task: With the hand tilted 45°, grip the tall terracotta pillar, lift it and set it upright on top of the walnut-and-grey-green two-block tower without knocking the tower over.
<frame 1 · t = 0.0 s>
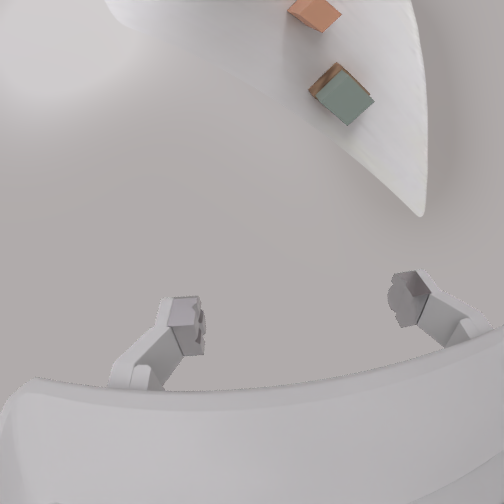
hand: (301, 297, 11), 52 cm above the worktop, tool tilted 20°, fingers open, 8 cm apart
pillar: (305, 10, 37), on the worktop
tower top: (341, 94, 49), point 4 cm above the worktop, touching tower base
tower base: (336, 88, 51), on the worktop, touching tower top
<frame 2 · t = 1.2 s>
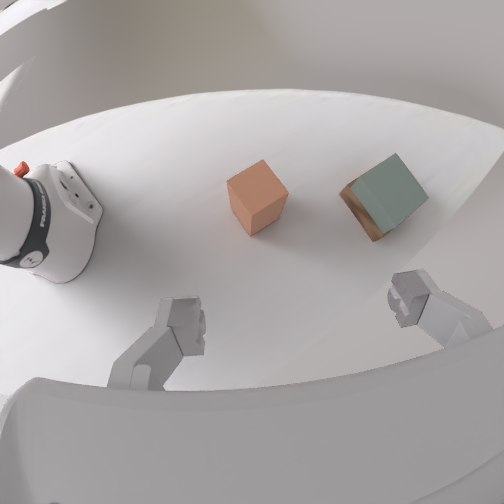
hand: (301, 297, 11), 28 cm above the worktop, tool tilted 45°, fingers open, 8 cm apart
pillar: (255, 213, 41), on the worktop
tower top: (384, 197, 38), point 4 cm above the worktop, touching tower base
tower base: (375, 204, 42), on the worktop, touching tower top
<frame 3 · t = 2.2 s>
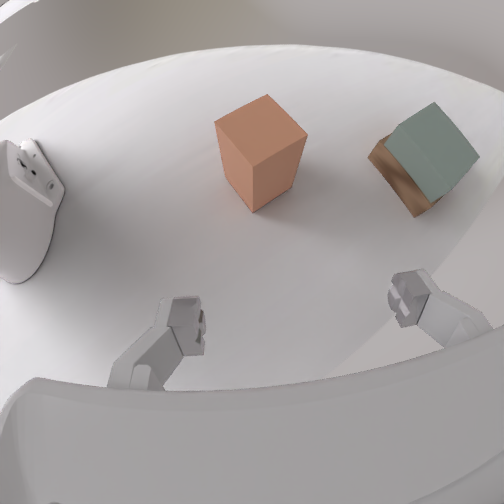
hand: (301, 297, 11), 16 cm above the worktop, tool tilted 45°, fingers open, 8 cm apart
pillar: (258, 181, 30), on the worktop
tower top: (426, 157, 26), point 4 cm above the worktop, touching tower base
tower base: (412, 170, 30), on the worktop, touching tower top
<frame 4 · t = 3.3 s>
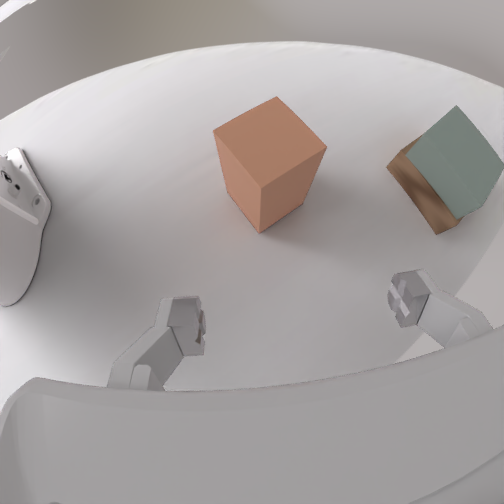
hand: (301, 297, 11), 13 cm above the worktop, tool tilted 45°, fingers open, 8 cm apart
pillar: (265, 197, 26), on the worktop
tower top: (449, 167, 23), point 4 cm above the worktop
tower base: (432, 182, 27), on the worktop
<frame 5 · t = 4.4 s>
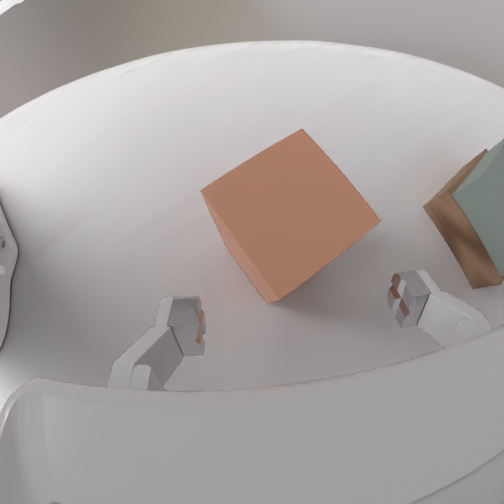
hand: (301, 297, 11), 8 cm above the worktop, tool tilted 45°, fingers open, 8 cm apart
pillar: (274, 254, 20), on the worktop
tower top: (495, 210, 17), point 4 cm above the worktop, touching tower base
tower base: (471, 222, 21), on the worktop, touching tower top
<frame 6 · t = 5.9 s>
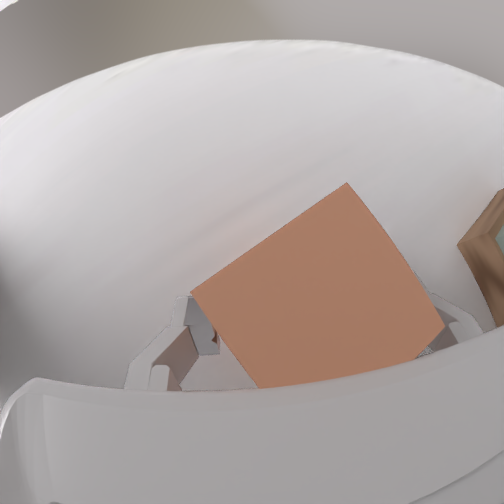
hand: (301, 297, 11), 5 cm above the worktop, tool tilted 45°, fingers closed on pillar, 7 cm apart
pillar: (288, 311, 16), on the worktop, touching gripper
tower base: (502, 258, 17), on the worktop, touching tower top
when the fingers open (15 cm above the worktop, at t = 12.6 s): pillar drops 2 cm, resting on tower top.
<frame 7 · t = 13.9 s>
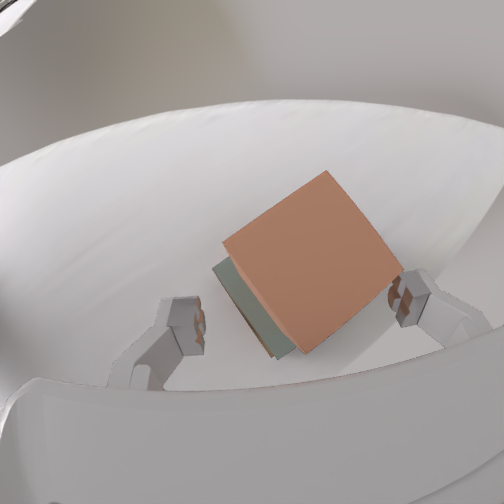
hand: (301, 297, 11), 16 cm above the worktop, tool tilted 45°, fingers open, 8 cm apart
pillar: (289, 281, 20), point 8 cm above the worktop, touching gripper, tower top
tower top: (285, 285, 24), point 4 cm above the worktop, touching pillar
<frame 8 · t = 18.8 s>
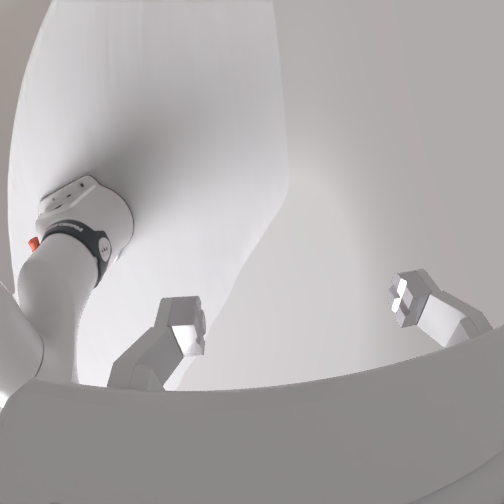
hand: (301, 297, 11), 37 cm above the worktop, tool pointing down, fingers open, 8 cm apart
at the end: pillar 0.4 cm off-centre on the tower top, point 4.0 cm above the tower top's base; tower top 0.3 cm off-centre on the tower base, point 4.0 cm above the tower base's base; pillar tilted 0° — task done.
